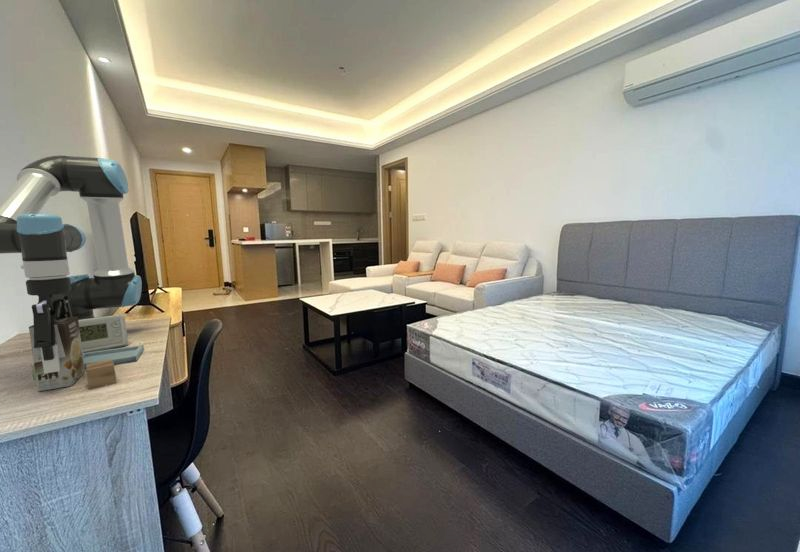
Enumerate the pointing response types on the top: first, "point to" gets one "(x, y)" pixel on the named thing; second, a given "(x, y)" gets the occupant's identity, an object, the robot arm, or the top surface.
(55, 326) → the coffee box
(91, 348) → the digital clock
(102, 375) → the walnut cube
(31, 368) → the sage block
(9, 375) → the top surface
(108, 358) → the tray
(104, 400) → the top surface
